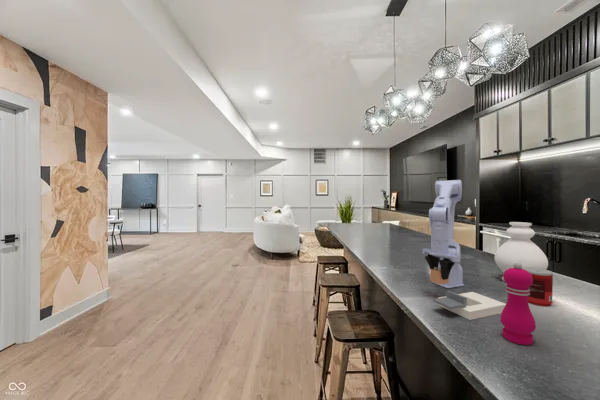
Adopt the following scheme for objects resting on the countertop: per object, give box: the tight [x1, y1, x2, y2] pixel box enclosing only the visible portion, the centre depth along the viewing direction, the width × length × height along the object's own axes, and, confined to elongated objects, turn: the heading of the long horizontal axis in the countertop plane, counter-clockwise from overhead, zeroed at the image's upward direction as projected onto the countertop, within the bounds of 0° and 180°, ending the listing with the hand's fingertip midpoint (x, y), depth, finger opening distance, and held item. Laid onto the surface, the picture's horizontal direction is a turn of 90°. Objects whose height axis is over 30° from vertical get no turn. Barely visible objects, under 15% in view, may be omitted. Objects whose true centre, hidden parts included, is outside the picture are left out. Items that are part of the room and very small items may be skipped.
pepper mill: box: [499, 262, 537, 346], centre depth 72 cm, size 7×7×20 cm
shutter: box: [432, 290, 467, 310], centre depth 88 cm, size 7×7×3 cm
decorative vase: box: [494, 221, 549, 282], centre depth 117 cm, size 18×18×25 cm
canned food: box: [524, 268, 554, 307], centre depth 95 cm, size 8×8×11 cm
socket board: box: [437, 291, 506, 321], centre depth 91 cm, size 16×12×2 cm
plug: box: [429, 267, 449, 286], centre depth 100 cm, size 4×4×5 cm
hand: (439, 277), depth 100 cm, fingers closed on plug, 4 cm apart
